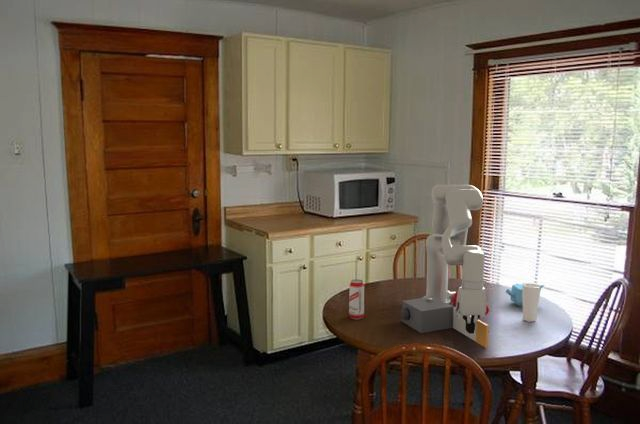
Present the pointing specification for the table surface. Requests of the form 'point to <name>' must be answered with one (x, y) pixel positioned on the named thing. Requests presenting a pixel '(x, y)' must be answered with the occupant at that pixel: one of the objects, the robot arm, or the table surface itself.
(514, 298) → the teapot
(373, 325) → the table surface
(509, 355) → the table surface
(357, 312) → the beer can
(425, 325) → the block
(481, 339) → the side door
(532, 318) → the drinking glass
